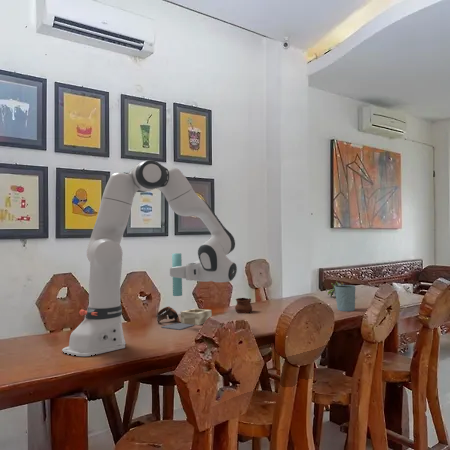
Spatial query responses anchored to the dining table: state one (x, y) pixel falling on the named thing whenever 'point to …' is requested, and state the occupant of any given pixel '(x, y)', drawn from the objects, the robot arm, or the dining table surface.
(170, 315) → the brown hollow arch
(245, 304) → the ceramic pot
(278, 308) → the dining table surface
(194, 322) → the socket block
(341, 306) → the blue-grey planter
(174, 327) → the mat
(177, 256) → the peg
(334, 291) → the passion flower
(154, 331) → the dining table surface
